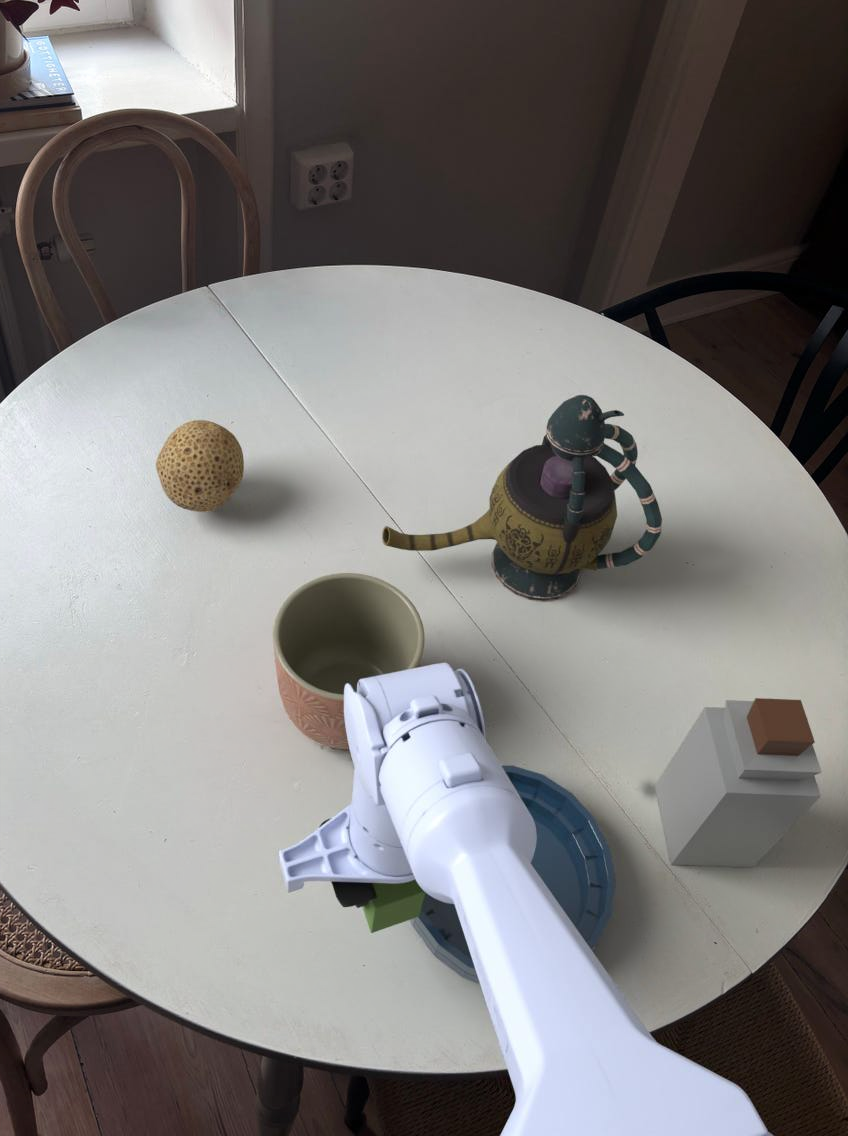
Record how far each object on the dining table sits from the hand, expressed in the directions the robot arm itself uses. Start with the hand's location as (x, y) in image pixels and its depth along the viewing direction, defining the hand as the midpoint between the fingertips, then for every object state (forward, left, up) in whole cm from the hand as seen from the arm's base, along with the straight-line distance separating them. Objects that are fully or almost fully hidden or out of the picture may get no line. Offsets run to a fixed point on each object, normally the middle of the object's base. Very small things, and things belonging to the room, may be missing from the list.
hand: (385, 882), depth 65 cm
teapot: (+29, -23, -9) cm, 38 cm away
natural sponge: (+46, +4, -9) cm, 47 cm away
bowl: (0, -10, -8) cm, 13 cm away
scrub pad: (0, 0, -1) cm, 1 cm away
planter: (+19, -3, -9) cm, 21 cm away
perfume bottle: (-1, -28, -9) cm, 30 cm away
